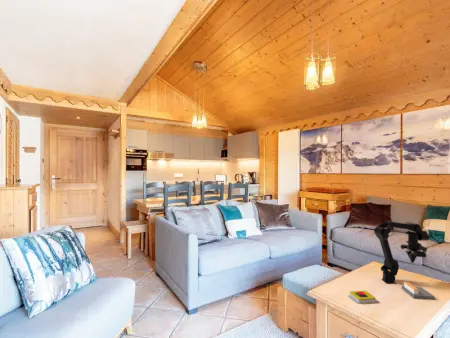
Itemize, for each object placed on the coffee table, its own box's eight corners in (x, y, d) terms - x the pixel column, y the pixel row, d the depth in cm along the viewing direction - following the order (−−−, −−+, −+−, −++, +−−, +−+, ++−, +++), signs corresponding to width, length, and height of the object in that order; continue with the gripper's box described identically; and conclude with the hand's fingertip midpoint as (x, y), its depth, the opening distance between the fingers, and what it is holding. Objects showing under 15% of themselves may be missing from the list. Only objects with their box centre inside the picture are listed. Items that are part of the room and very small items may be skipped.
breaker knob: (414, 294, 154) (414, 289, 154) (403, 286, 164) (404, 281, 163) (418, 294, 153) (418, 289, 153) (407, 286, 163) (408, 282, 163)
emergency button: (346, 289, 155) (368, 288, 157) (346, 296, 155) (368, 295, 157) (356, 297, 145) (379, 295, 147) (356, 304, 145) (379, 303, 147)
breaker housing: (413, 298, 153) (413, 295, 153) (401, 288, 165) (401, 285, 165) (434, 299, 152) (434, 296, 152) (421, 290, 163) (421, 287, 163)
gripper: (435, 245, 167) (434, 268, 167) (416, 237, 185) (415, 258, 186) (417, 244, 168) (416, 267, 168) (400, 236, 186) (399, 257, 187)
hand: (412, 262), depth 177 cm, fingers closed
